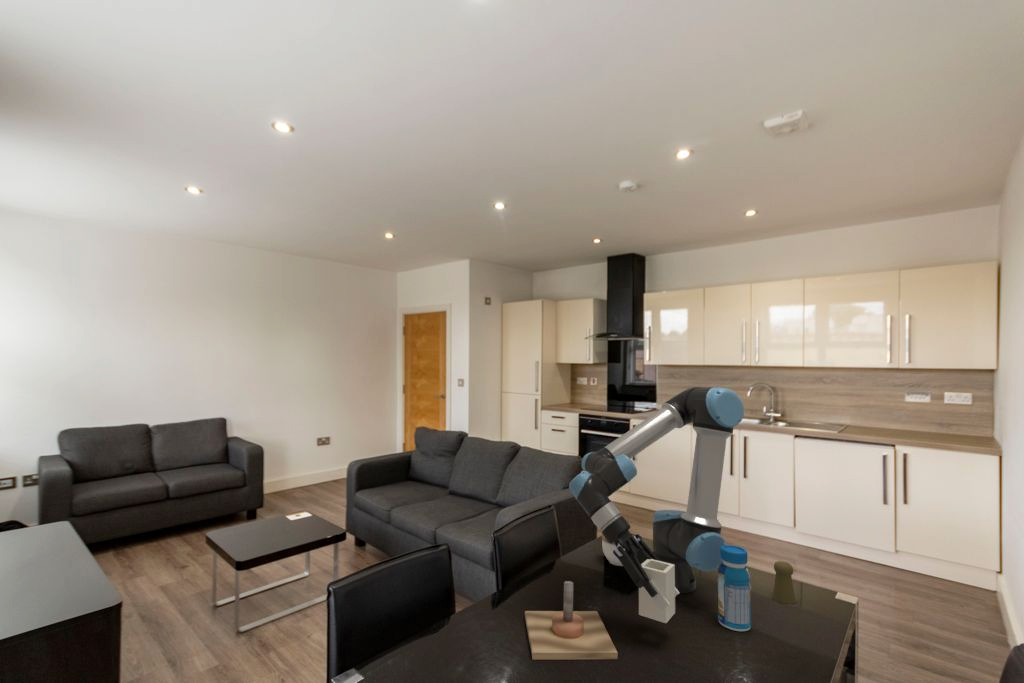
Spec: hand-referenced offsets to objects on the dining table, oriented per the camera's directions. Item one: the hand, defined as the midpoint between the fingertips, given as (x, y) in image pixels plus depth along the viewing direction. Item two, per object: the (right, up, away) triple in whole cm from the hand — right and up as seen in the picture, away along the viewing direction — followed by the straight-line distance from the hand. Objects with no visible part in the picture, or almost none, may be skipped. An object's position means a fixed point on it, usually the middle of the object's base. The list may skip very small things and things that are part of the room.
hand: (670, 601), depth 120 cm
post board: (-26, -9, 0) cm, 28 cm away
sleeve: (-3, -4, +2) cm, 5 cm away
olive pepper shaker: (+43, -14, +25) cm, 52 cm away
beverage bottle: (+20, -11, +9) cm, 25 cm away
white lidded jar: (-1, -14, +51) cm, 53 cm away
